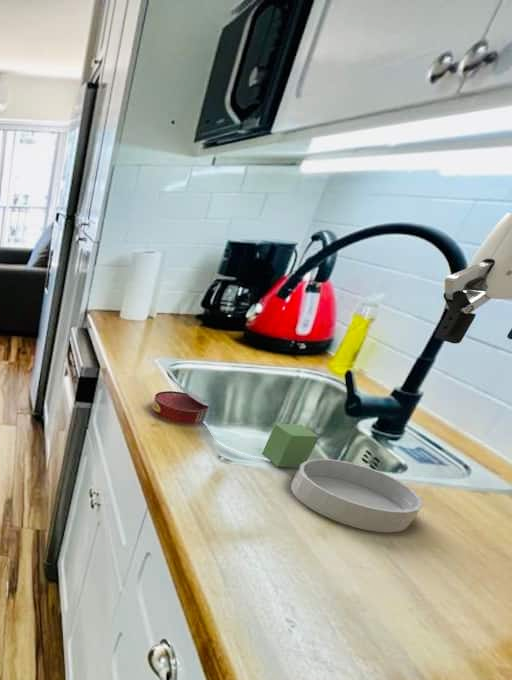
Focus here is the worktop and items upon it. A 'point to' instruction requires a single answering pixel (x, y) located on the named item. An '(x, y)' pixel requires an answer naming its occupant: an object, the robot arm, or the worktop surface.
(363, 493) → the basin
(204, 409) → the canned food
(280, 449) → the green block
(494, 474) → the worktop surface
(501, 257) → the robot arm
